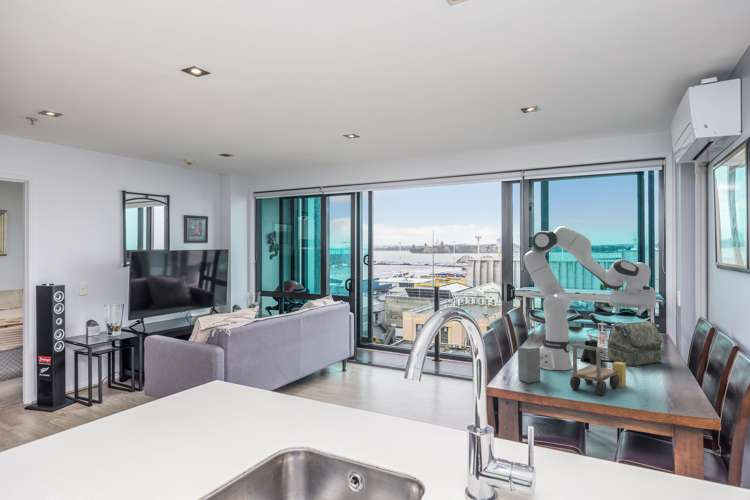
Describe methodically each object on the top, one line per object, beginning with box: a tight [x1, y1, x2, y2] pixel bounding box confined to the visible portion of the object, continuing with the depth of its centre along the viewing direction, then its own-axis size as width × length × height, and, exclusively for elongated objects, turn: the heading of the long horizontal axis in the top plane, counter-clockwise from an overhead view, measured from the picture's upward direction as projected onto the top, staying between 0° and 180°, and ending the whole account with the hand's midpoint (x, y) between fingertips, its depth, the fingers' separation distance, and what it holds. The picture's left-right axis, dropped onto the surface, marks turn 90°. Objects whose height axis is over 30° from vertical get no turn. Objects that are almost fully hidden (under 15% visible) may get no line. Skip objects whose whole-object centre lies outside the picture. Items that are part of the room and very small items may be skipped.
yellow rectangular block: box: [612, 361, 627, 388], centre depth 202 cm, size 4×4×10 cm
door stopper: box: [580, 339, 603, 366], centre depth 242 cm, size 9×6×12 cm, turn 25°
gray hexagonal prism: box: [517, 345, 541, 384], centre depth 211 cm, size 8×7×16 cm
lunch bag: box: [607, 320, 663, 367], centre depth 243 cm, size 26×18×22 cm
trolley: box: [569, 343, 619, 397], centre depth 198 cm, size 13×20×20 cm, turn 131°
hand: (627, 313), depth 210 cm, fingers open, 8 cm apart
